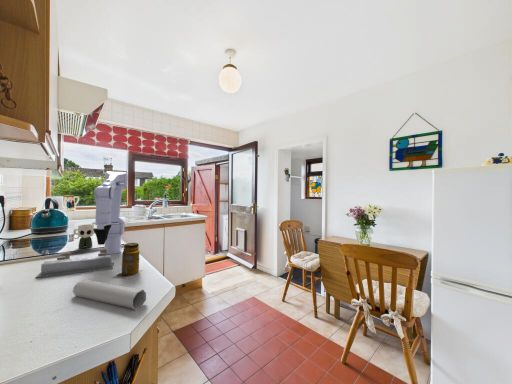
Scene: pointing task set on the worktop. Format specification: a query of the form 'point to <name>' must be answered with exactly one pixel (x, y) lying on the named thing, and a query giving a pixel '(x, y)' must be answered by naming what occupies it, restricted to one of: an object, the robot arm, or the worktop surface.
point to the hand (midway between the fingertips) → (102, 242)
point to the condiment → (130, 261)
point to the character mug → (85, 235)
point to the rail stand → (67, 255)
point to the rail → (75, 264)
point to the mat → (75, 271)
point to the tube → (110, 294)
